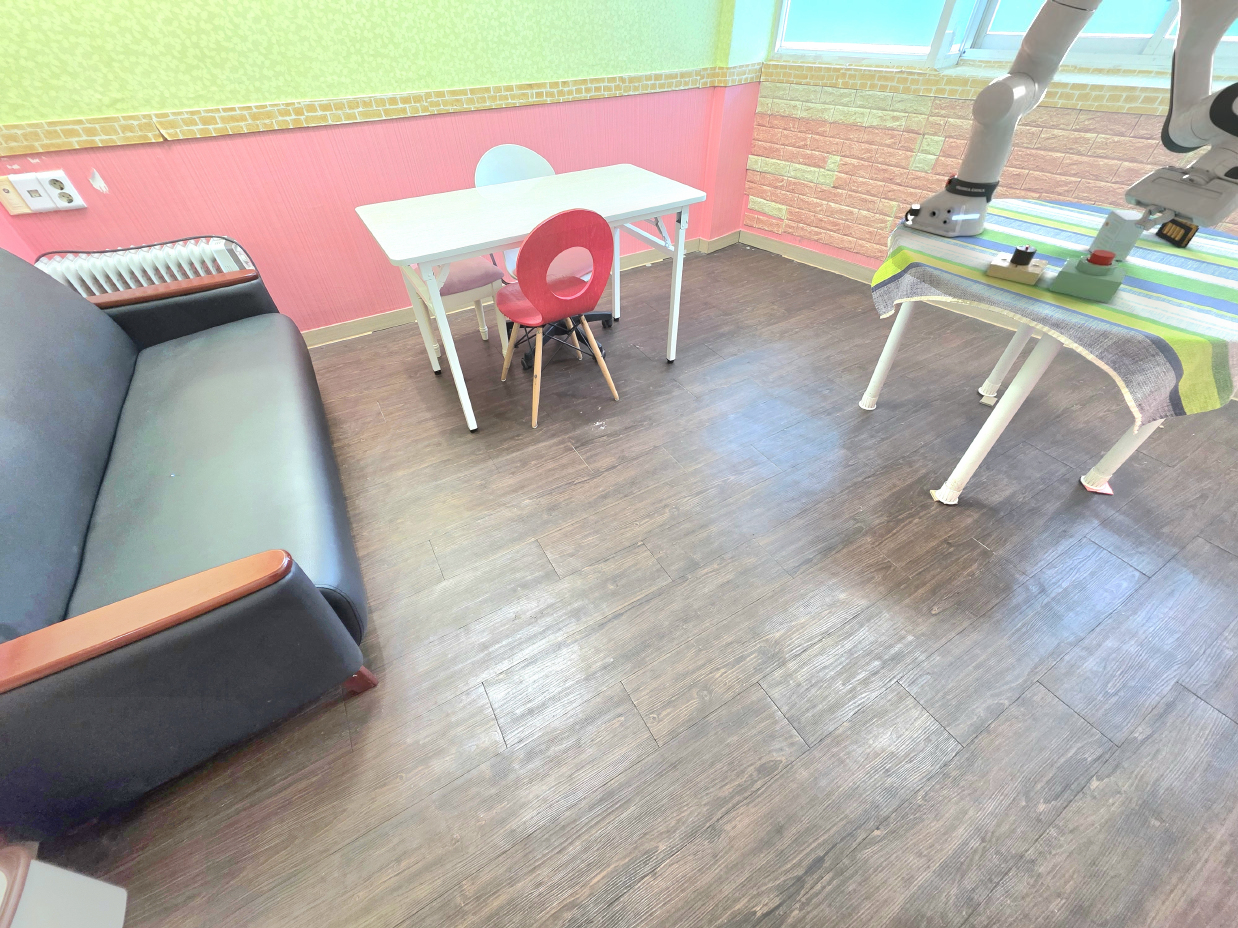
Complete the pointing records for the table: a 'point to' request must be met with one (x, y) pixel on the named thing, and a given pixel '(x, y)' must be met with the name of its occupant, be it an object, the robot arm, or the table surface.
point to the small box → (1118, 233)
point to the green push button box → (1089, 279)
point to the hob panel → (1016, 269)
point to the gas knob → (1023, 255)
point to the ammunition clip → (1177, 232)
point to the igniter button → (1101, 257)
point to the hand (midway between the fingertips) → (1140, 227)
